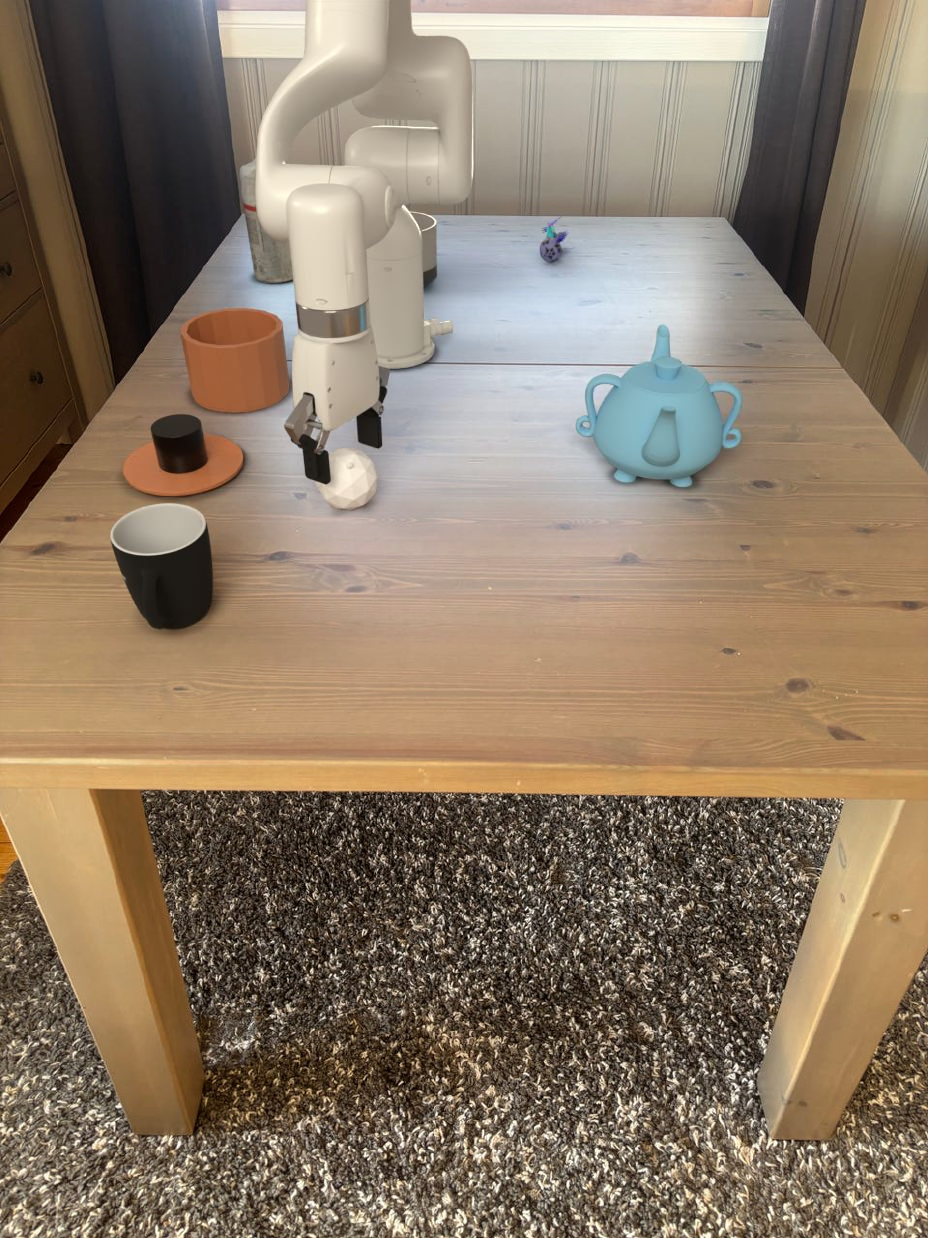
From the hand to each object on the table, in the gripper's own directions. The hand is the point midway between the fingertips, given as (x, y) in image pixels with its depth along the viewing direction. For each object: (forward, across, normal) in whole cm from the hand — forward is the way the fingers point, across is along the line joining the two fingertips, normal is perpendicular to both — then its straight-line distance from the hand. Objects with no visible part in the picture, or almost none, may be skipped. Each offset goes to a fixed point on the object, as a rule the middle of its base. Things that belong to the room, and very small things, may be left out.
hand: (345, 462), depth 108 cm
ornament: (+6, 0, 0) cm, 6 cm away
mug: (+6, +26, -2) cm, 27 cm away
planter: (+5, -64, -37) cm, 74 cm away
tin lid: (+5, +4, -22) cm, 23 cm away
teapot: (+6, -29, +27) cm, 40 cm away
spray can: (+5, -54, -58) cm, 80 cm away
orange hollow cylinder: (+6, -16, -32) cm, 36 cm away
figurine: (+5, -93, -21) cm, 95 cm away
